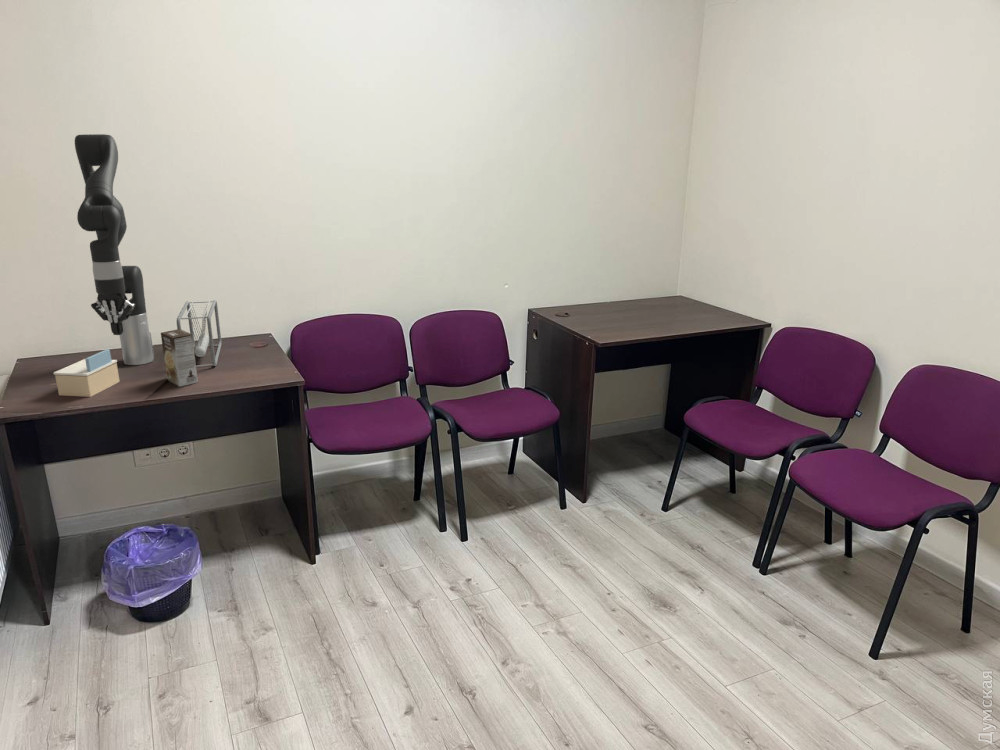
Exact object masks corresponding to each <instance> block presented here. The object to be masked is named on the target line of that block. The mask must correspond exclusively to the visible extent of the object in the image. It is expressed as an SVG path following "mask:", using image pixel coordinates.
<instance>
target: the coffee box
mask: <svg viewBox="0 0 1000 750" xmlns="http://www.w3.org/2000/svg"><path fill="white" fill-rule="evenodd" d="M160 337H161V345H162V352H163V359H164V367H165V372H166V373H165V374H166V379H167V381H168V382H170V383H172V384H174V385H175V386H177V387H180V388H181V387H184V386H188V385H192V384H197V383H199V382H198V373H197V372H198V371H197V367H196V364H197V363H196V357H195V356H196V355H195V353H194V350H195V347H193V338H192V334H190V332H187V331H186V330H183V329H182V328H181V329H177V328H176V329H173V330H168V331H163V332H160Z"/></svg>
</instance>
